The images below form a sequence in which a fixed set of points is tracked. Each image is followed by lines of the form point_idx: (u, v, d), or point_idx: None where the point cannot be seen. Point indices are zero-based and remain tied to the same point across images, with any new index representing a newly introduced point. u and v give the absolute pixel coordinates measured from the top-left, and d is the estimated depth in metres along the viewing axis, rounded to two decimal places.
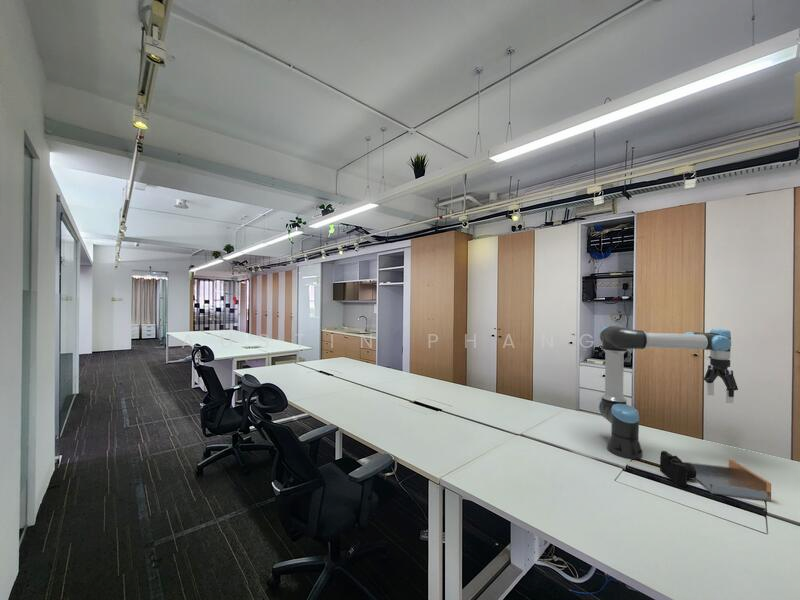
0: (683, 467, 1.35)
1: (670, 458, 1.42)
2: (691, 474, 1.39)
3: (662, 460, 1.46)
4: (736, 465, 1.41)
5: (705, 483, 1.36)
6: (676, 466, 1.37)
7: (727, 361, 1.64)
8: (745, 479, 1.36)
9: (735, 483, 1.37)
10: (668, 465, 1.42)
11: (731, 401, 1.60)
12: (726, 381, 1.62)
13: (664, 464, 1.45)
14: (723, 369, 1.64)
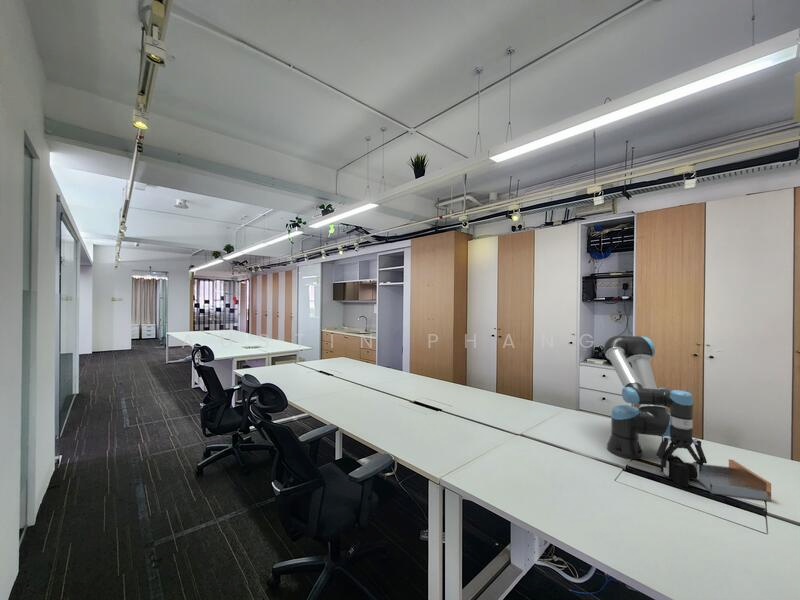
0: (685, 468, 1.35)
1: (671, 458, 1.41)
2: (692, 475, 1.38)
3: None
4: (736, 465, 1.41)
5: (705, 483, 1.36)
6: (678, 467, 1.37)
7: (673, 428, 1.41)
8: (745, 479, 1.36)
9: (735, 483, 1.37)
10: (669, 466, 1.42)
11: (666, 473, 1.42)
12: (667, 449, 1.43)
13: None
14: None
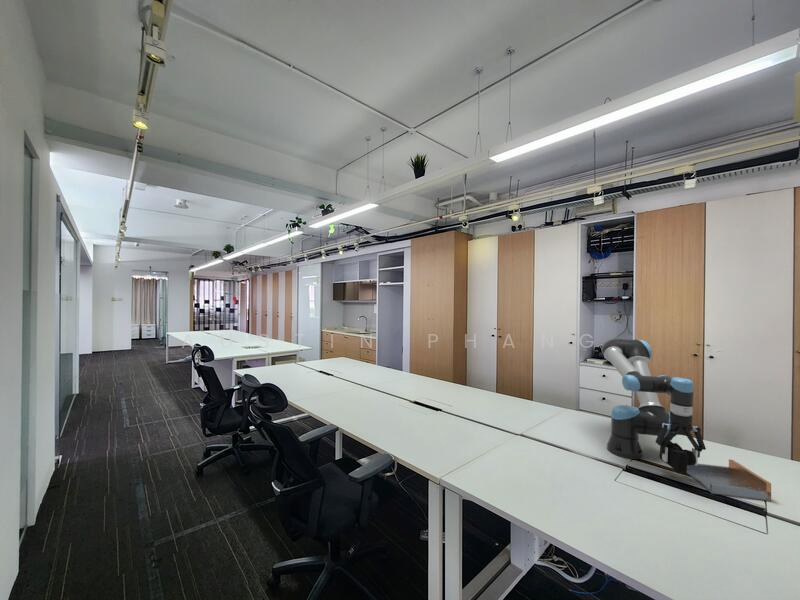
0: (684, 454, 1.35)
1: (670, 445, 1.42)
2: (691, 461, 1.39)
3: None
4: (736, 465, 1.41)
5: (705, 483, 1.36)
6: (677, 453, 1.37)
7: (672, 415, 1.41)
8: (745, 479, 1.36)
9: (735, 483, 1.37)
10: (668, 452, 1.42)
11: (664, 459, 1.43)
12: (666, 436, 1.44)
13: None
14: None
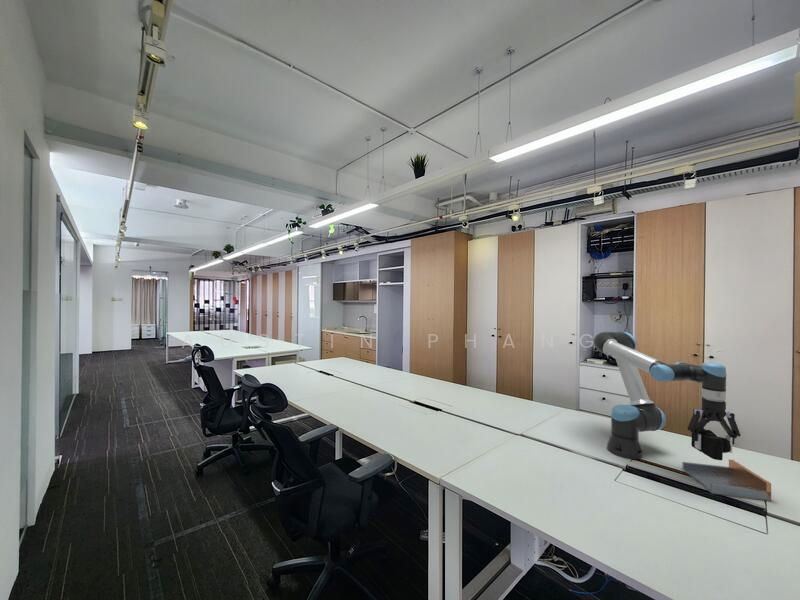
0: (719, 440, 1.32)
1: (704, 432, 1.39)
2: (725, 448, 1.36)
3: None
4: (736, 465, 1.41)
5: (705, 483, 1.36)
6: (711, 439, 1.34)
7: (705, 401, 1.39)
8: (745, 479, 1.36)
9: (735, 483, 1.37)
10: (702, 439, 1.39)
11: (697, 446, 1.39)
12: (698, 423, 1.40)
13: None
14: None
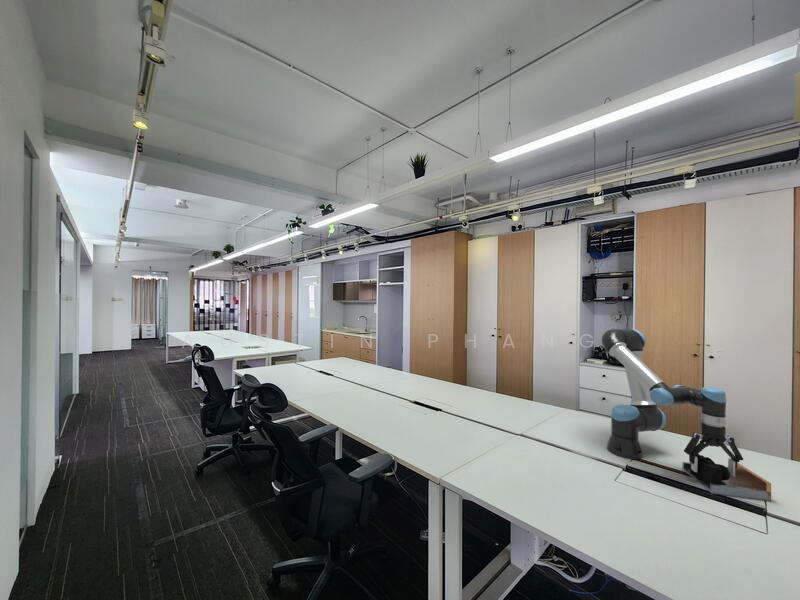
0: (718, 469, 1.32)
1: (702, 460, 1.39)
2: (724, 476, 1.36)
3: None
4: None
5: (705, 483, 1.36)
6: (710, 468, 1.34)
7: (705, 426, 1.39)
8: (745, 479, 1.36)
9: (735, 483, 1.37)
10: (700, 467, 1.39)
11: (694, 469, 1.40)
12: (696, 446, 1.41)
13: None
14: None
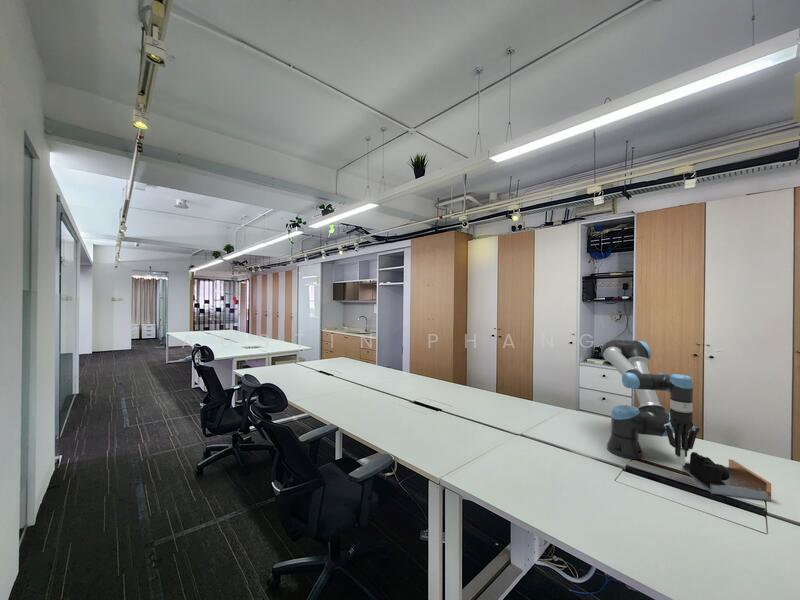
0: (717, 469, 1.32)
1: (702, 460, 1.39)
2: (724, 476, 1.36)
3: (692, 462, 1.43)
4: (736, 465, 1.41)
5: None
6: (709, 468, 1.34)
7: (673, 412, 1.41)
8: (745, 479, 1.36)
9: (735, 483, 1.37)
10: (700, 467, 1.39)
11: (679, 462, 1.41)
12: (675, 437, 1.42)
13: (695, 466, 1.41)
14: None
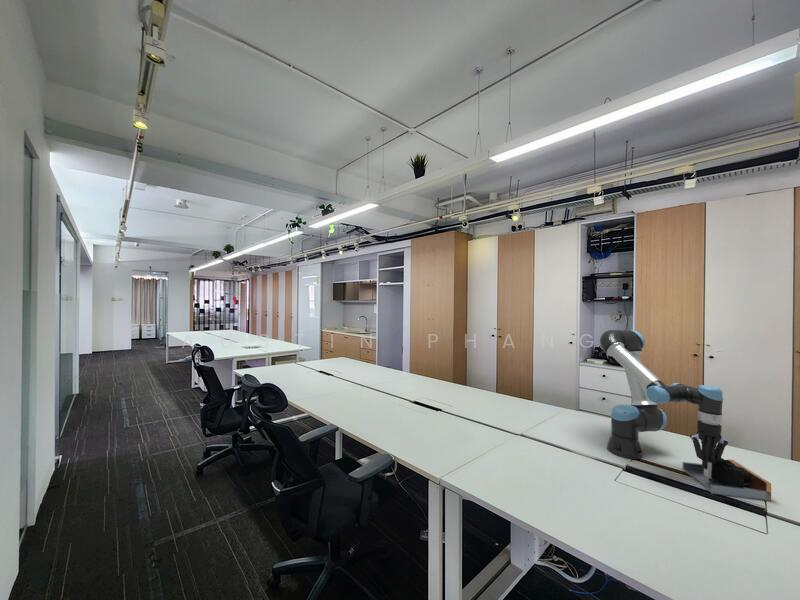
0: (740, 472, 1.30)
1: (723, 462, 1.36)
2: (745, 479, 1.34)
3: None
4: (736, 465, 1.41)
5: (705, 483, 1.36)
6: (732, 471, 1.32)
7: (701, 423, 1.39)
8: None
9: None
10: (721, 470, 1.37)
11: (707, 474, 1.38)
12: (702, 449, 1.40)
13: (715, 469, 1.39)
14: None
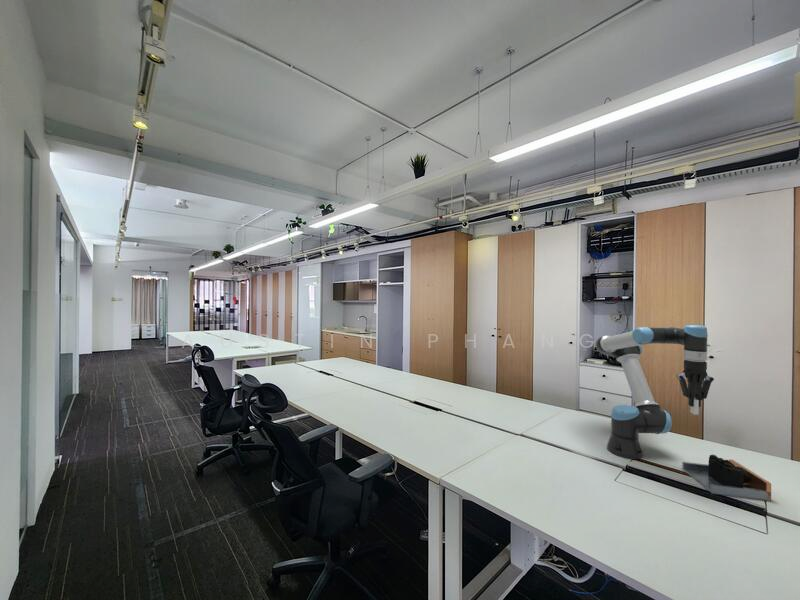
0: (739, 472, 1.30)
1: (722, 462, 1.36)
2: (744, 479, 1.34)
3: (712, 464, 1.41)
4: (736, 465, 1.41)
5: (705, 483, 1.36)
6: (731, 471, 1.32)
7: (686, 362, 1.40)
8: None
9: None
10: (720, 470, 1.37)
11: (693, 412, 1.40)
12: (688, 388, 1.41)
13: (714, 469, 1.39)
14: None
